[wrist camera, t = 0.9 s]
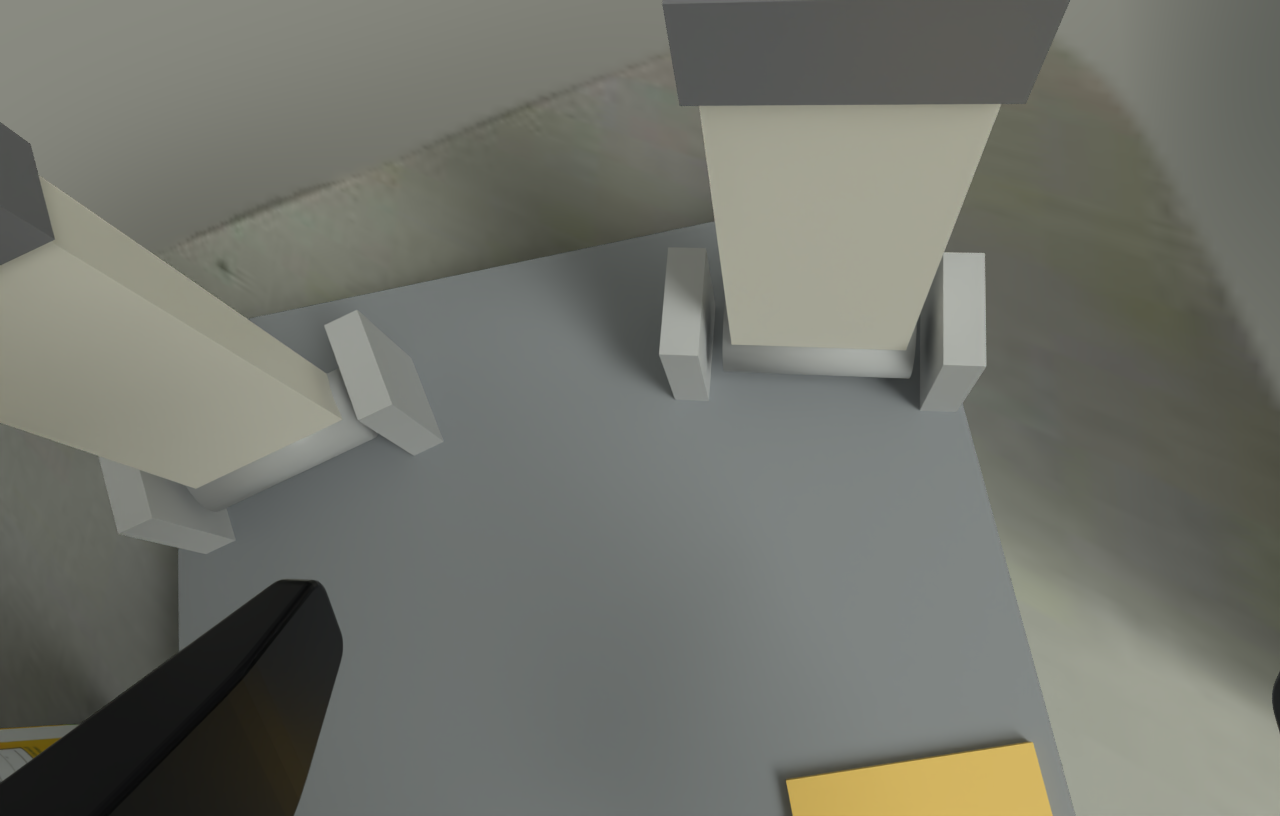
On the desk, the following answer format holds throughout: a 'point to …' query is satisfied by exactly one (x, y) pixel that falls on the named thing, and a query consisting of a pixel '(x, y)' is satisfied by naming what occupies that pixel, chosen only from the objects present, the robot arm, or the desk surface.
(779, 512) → the grey base plate
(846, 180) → the switch
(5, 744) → the supplement bottle
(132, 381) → the switch
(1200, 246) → the desk surface
